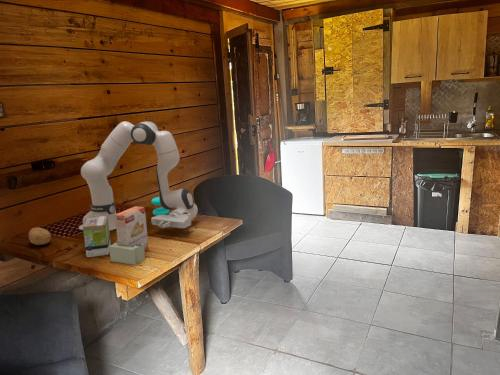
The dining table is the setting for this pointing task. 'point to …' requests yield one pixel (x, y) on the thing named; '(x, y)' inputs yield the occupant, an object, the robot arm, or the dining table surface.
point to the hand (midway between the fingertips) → (161, 226)
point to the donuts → (159, 210)
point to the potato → (39, 236)
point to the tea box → (96, 236)
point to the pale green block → (127, 253)
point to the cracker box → (132, 227)
